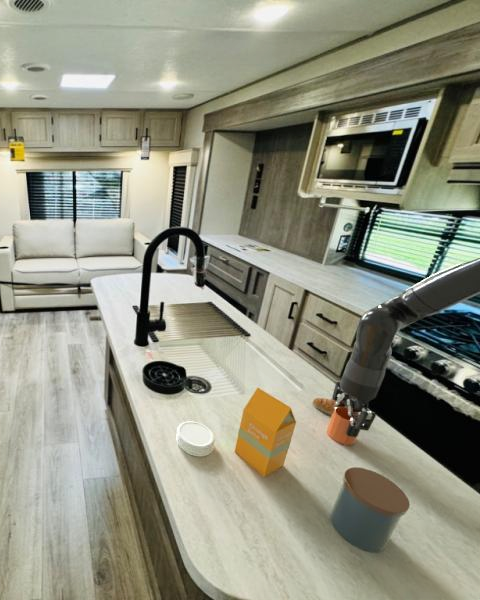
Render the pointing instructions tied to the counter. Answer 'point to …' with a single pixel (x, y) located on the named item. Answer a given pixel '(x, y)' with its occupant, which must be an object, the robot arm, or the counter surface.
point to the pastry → (324, 405)
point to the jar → (368, 509)
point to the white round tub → (195, 438)
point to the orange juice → (265, 432)
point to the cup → (340, 426)
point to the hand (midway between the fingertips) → (343, 426)
